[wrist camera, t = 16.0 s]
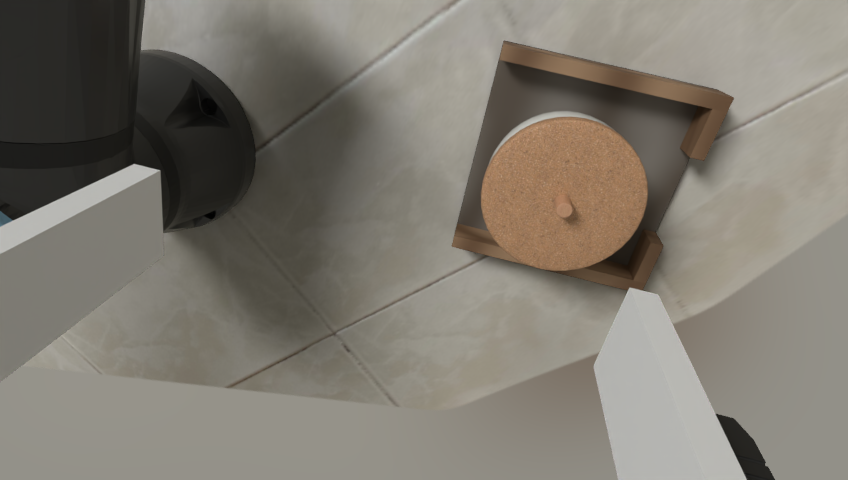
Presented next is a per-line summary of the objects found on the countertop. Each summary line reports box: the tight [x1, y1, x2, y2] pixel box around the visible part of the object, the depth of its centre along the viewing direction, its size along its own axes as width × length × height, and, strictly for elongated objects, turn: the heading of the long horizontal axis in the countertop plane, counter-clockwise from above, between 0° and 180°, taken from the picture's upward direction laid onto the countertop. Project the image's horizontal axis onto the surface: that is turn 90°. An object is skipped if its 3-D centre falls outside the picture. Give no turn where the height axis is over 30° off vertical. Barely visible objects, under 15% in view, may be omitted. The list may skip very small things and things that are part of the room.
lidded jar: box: [481, 111, 648, 271], centre depth 37 cm, size 11×11×9 cm
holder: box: [452, 41, 734, 290], centre depth 40 cm, size 16×16×3 cm
